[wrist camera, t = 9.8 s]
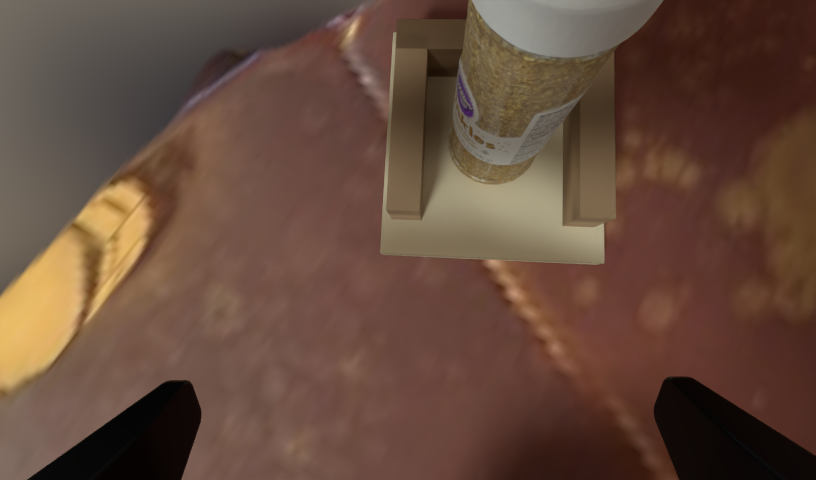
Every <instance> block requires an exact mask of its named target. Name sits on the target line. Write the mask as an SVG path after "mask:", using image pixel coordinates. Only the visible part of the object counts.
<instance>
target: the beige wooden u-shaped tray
mask: <svg viewBox="0 0 816 480" xmlns="http://www.w3.org/2000/svg"><path fill="white" fill-rule="evenodd" d="M465 25H466V19H397V31H396V32H393V46H392V63H391V79H390V96H389V113H388V129H387V146H386V163H385V179H384V196H383V213H382V229H381V246H380V253H381V254H382V255H398V256H420V257H442V258H463V259H485V260H507V261H529V262H551V263H572V264H594V265H597V264H603V263H604V223H606V222H608V221H611V220H613V219H616V176H615V79H614V52H613V53H612V55H611V56H610V58H609V59H608V60H607V62H606V63H605V64H604V65H603V67H602V68H601V69H600V71H599V72H598V74H597V76H596V78H595V79H594V81H593V83H592V84H591V86H590V87H589V88H588V90H587V91H586V92H585V94H584V95H583V96H582V97H581V99H580V100H579V101H578V103H577V104H576V105H575V106H574V108H573V109H572V110H571V112H570V113H569V114H568V116H567V117H566V118H565V120H564V121H563V122H562V124H561V125H560V126H559V128H558V129H557V130H556V132H555V133H554V134H553V135H552V137H551V138H550V139H549V141H548V142H547V143H546V144H545V146H544V147H543V148H542V149H541V150H540V151H539V152H538V153H537V154H536V157H535V159H534V161H533V163H532V165H531V166H530V167H529V169H528V170H527V171H526V172H525V173H524V174H523V175H521V176H519V177H518V178H517V179H515V180H514V181H511V182H507V183H504V184H498V185H493V184H491V185H487V184H482V183H479V182H475V181H473V180H472V179H470V178H468V177H467V176H466V175H464V174H463V173H462V172H460V171H459V169H458V168H457V166H456V165H455V164H454V163H453V161H452V158H451V155H450V152H449V143H448V139H449V132H450V128H451V125H452V123H453V106H454V98H455V91H456V83H457V75H458V68H459V60H460V56H461V54H462V51H463V43H464V35H465Z"/></svg>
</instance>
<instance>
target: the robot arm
mask: <svg viewBox="0 0 816 480" xmlns="http://www.w3.org/2000/svg"><path fill="white" fill-rule="evenodd" d="M654 417H655V421H656V423H657V426H658V428H659V431H660V433H661V436H662V438H663V441H664V443H665V446H666V448H667V451H668V453H669V456H670V458H671V460H672V463H673V465H674V468H675V470H676V473H677V475H678V478H679V480H816V456H815V455H813V454H812V453H810V452H809V451H807V450H806V449H804V448H802V447H801V446H799V445H798V444H796V443H794V442H793V441H791V440H790V439H788V438H787V437H785V436H783V435H782V434H780V433H779V432H777V431H776V430H774V429H772V428H771V427H769V426H768V425H766V424H764V423H763V422H761V421H760V420H758V419H757V418H755V417H753V416H752V415H750V414H749V413H747V412H745V411H744V410H742V409H741V408H739V407H738V406H736V405H734V404H733V403H731V402H730V401H728V400H727V399H725V398H723V397H722V396H720V395H719V394H717V393H715V392H714V391H712V390H711V389H709V388H708V387H706V386H704V385H703V384H701V383H700V382H698V381H696V380H695V379H693V378H691V377H667V378H666V379H665V380H664V381H663V383H662V386H661V389H660V391H659V394H658V397H657V399H656V402H655V405H654ZM200 422H201V408H200V405H199V402H198V399H197V396H196V393H195V391H194V388H193V385H192V383H191V382H189V381H187V380H170V381H166V382H164V383H162V384H161V385H159V386H158V387H157V388H155V389H154V390H152V391H151V392H150V393H148V394H147V395H145V396H144V397H143V398H141V399H140V400H138V401H137V402H136V403H134V404H133V405H131V406H130V407H129V408H127V409H126V410H124V411H123V412H122V413H120V414H119V415H117V416H116V417H114V418H113V419H112V420H110V421H109V422H107V423H106V424H105V425H103V426H102V427H100V428H99V429H98V430H96V431H95V432H93V433H92V434H91V435H89V436H88V437H86V438H85V439H84V440H82V441H81V442H79V443H78V444H77V445H75V446H74V447H72V448H71V449H69V450H68V451H67V452H65V453H64V454H62V455H61V456H60V457H58V458H57V459H55V460H54V461H53V462H51V463H50V464H48V465H47V466H46V467H44V468H43V469H41V470H40V471H39V472H37V473H36V474H34V475H33V476H32V477H30V478H29V479H27V480H181V479H182V476H183V473H184V470H185V467H186V464H187V461H188V458H189V455H190V452H191V449H192V446H193V443H194V440H195V437H196V434H197V431H198V428H199V425H200Z"/></svg>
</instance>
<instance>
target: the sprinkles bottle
mask: <svg viewBox="0 0 816 480" xmlns="http://www.w3.org/2000/svg"><path fill="white" fill-rule="evenodd" d="M663 1H664V0H469V1H468V9H467V19H466V25H465V35H464V43H463V51H462V54H461V56H460V60H459V68H458V75H457V83H456V91H455V98H454V106H453V123H452V125H451V128H450V132H449V139H448V143H449V152H450V155H451V158H452V161H453V163H454V164H455V165H456V166H457V168H458V169H459V171H460V172H462V173H463V174H464V175H466V176H467V177H468V178H470V179H472V180H473V181H475V182H479V183H482V184H487V185H491V184H493V185H498V184H504V183H507V182H511V181H514V180H515V179H517V178H518V177H519V176H521V175H523V174H524V173H525V172H526V171H527V170H528V169H529V167H530V166H531V165H532V163H533V161H534V159H535V157H536V154H537V153H538V152H539V151H540V150H541V149H542V148H543V147H544V146H545V144H546V143H547V142H548V141H549V139H550V138H551V137H552V135H553V134H554V133H555V132H556V130H557V129H558V128H559V126H560V125H561V124H562V122H563V121H564V120H565V118H566V117H567V116H568V114H569V113H570V112H571V110H572V109H573V108H574V106H575V105H576V104H577V103H578V101H579V100H580V99H581V97H582V96H583V95H584V94H585V92H586V91H587V90H588V88H589V87H590V86H591V84H592V83H593V81H594V79H595V78H596V76H597V74H598V72H599V71H600V69H601V68H602V67H603V65H604V64H605V63H606V62H607V60H608V59H609V58H610V56H611V55H612V53H613V52H614V51H615V50H616V48H617V47H618V45H619V44H620V43H622V42H623V41H625V40H626V39H628V38H629V37H631V36H632V35H633V34H634V33H636V32H637V31H638V30H639V29H640V28H641V27H642V26H643V25H644V24H645V23H646V22H647V21H648V20H649V18H650V17H651V16H652V15H653V13H654V12H655V11H656V10H657V8H658V7H659V6H660V5H661V3H662V2H663Z"/></svg>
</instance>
